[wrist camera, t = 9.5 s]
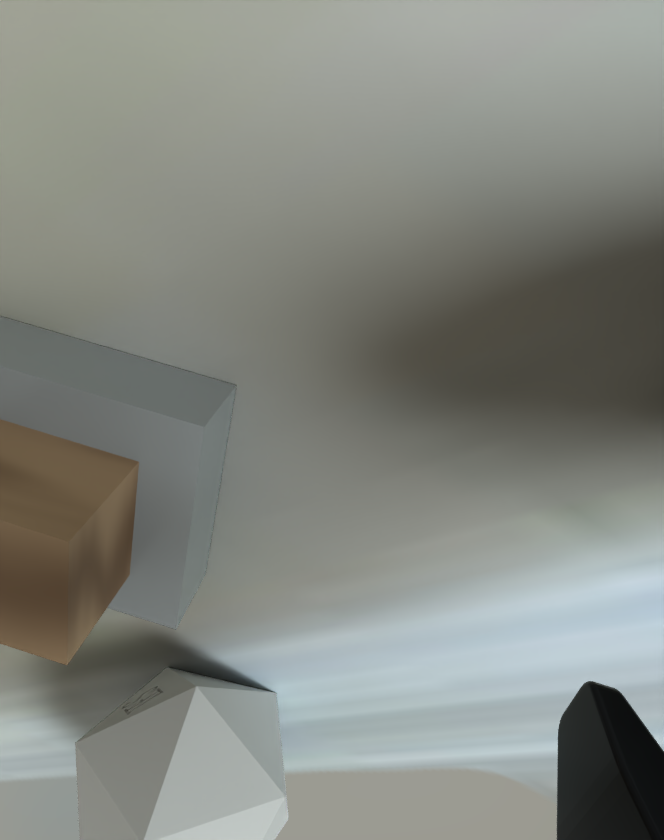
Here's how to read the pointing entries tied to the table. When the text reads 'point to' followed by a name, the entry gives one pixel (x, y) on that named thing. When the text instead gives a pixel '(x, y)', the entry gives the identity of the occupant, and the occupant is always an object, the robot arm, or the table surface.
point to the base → (131, 448)
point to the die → (184, 764)
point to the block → (60, 538)
